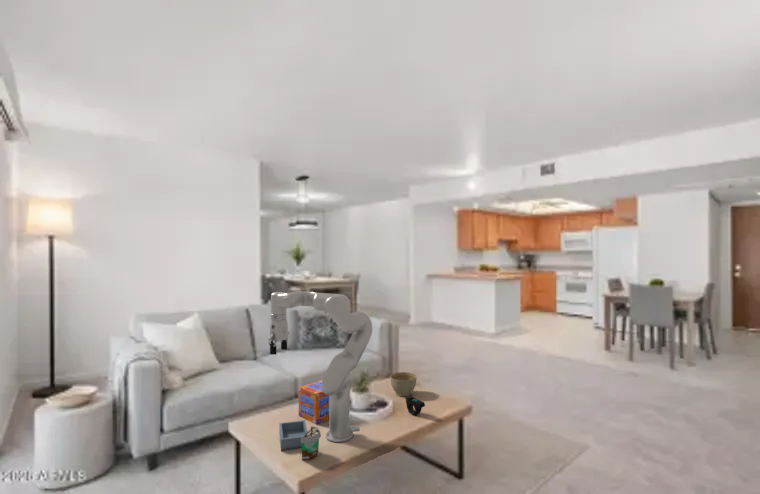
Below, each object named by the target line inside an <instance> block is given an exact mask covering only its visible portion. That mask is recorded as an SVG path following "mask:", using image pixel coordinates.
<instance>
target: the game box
mask: <svg viewBox="0 0 760 494" xmlns="http://www.w3.org/2000/svg"><path fill="white" fill-rule="evenodd" d="M321 381H322V379H321V380H318V381H315V382H311V383H308V384H305V385H301V386H298V416H299V417H300V418H303V419H304V420H305V421H308V422H311V423H313V424H314V425H318V424H321V423H323V422H326V421H329V395H326V394H325V393H324V392H323V391H322V388H321Z"/></svg>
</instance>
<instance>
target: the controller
mask: <svg viewBox="0 0 760 494" xmlns="http://www.w3.org/2000/svg"><path fill="white" fill-rule="evenodd" d="M404 399H405V403H406V404H405V405H406V409H407V410H408V412H409V413H410V415H412V416H416V415H419V414H420V413H421V412H422V408H424V407H425V406H426V403H425V402H424V401H421V400H420V399H418V398H416V397H414V396H413V394H412V393H411V394H409V396H405V397H404Z"/></svg>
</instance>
